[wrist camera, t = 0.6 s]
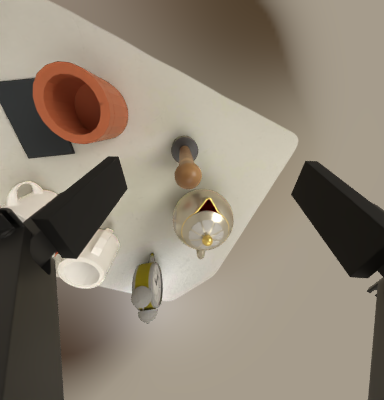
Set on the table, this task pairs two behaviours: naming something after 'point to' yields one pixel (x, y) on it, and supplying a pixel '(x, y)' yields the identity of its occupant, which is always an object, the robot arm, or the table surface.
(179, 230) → the teapot
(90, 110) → the jar
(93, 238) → the mug
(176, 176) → the brush
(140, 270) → the alarm clock
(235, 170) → the table surface
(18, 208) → the mug
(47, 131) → the mat
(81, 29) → the table surface
